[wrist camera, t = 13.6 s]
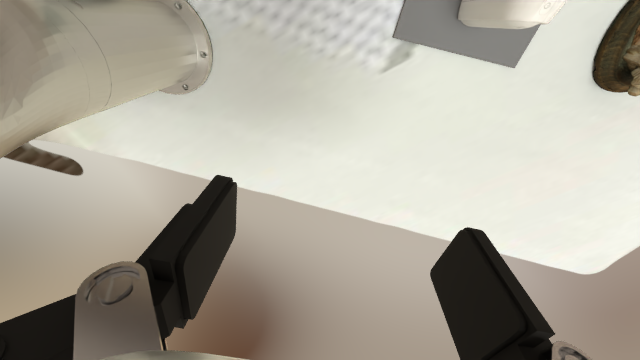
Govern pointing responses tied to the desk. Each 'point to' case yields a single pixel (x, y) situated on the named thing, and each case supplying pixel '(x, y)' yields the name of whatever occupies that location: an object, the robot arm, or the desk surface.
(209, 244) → the robot arm
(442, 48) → the mat
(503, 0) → the photo printer
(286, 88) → the desk surface
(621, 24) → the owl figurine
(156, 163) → the desk surface
